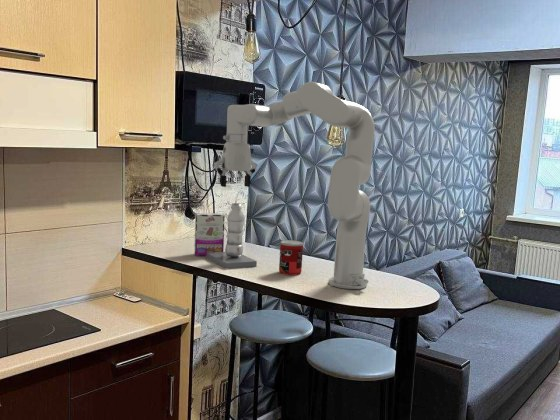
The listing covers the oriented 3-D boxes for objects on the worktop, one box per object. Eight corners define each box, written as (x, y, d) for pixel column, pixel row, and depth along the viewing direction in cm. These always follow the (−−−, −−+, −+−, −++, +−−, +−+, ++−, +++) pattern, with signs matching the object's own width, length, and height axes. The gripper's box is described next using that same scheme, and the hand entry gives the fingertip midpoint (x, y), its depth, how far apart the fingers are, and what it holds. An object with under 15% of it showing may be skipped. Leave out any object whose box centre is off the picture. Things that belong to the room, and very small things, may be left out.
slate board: (256, 266, 199) (256, 261, 199) (226, 268, 193) (226, 263, 192) (234, 256, 214) (234, 251, 214) (206, 258, 208) (206, 252, 208)
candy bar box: (221, 253, 217) (223, 213, 215) (223, 256, 213) (225, 214, 211) (193, 253, 215) (195, 212, 213) (194, 256, 210) (196, 214, 208)
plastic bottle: (221, 255, 204) (223, 203, 201) (236, 254, 208) (238, 202, 206) (231, 259, 199) (234, 205, 196) (246, 257, 203) (249, 204, 201)
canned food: (275, 270, 194) (277, 240, 193) (296, 269, 197) (298, 240, 196) (283, 275, 187) (284, 244, 186) (304, 275, 190) (306, 244, 189)
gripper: (219, 138, 190) (218, 187, 192) (262, 140, 199) (260, 187, 201) (210, 138, 196) (209, 185, 198) (253, 140, 205) (251, 185, 207)
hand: (235, 186), depth 200 cm, fingers open, 9 cm apart
